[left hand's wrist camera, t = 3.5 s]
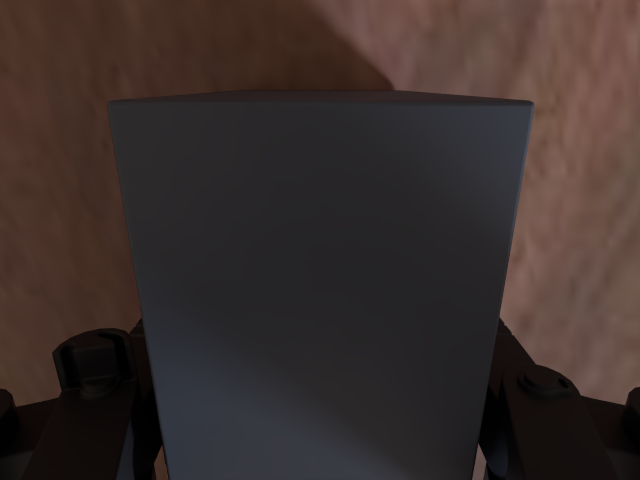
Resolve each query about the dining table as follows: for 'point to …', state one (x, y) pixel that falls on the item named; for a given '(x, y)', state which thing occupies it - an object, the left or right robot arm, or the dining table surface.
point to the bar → (320, 275)
